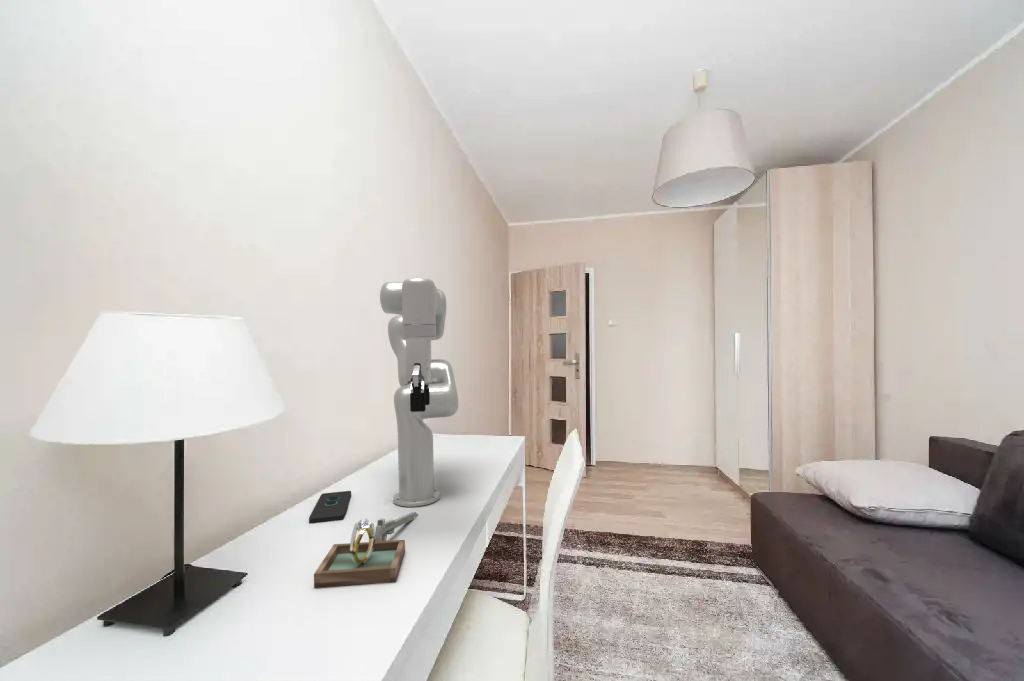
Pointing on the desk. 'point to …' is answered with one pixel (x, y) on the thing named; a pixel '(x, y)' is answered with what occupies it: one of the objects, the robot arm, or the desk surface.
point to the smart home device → (330, 507)
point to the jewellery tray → (360, 565)
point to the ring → (354, 545)
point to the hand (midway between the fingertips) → (420, 408)
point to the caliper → (391, 526)
